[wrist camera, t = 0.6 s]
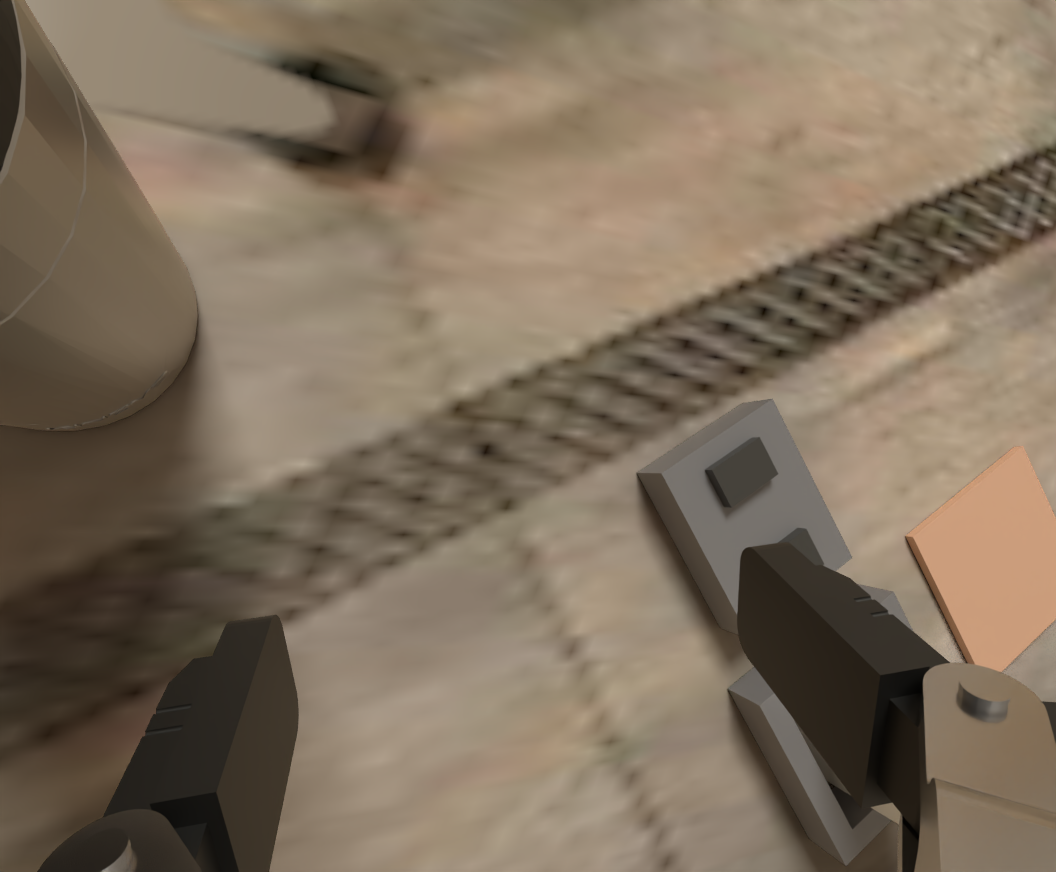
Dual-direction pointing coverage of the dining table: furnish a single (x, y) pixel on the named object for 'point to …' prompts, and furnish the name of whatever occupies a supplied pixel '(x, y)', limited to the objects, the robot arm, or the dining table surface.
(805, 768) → the charging dock
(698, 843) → the dining table surface
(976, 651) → the coaster
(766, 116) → the dining table surface
